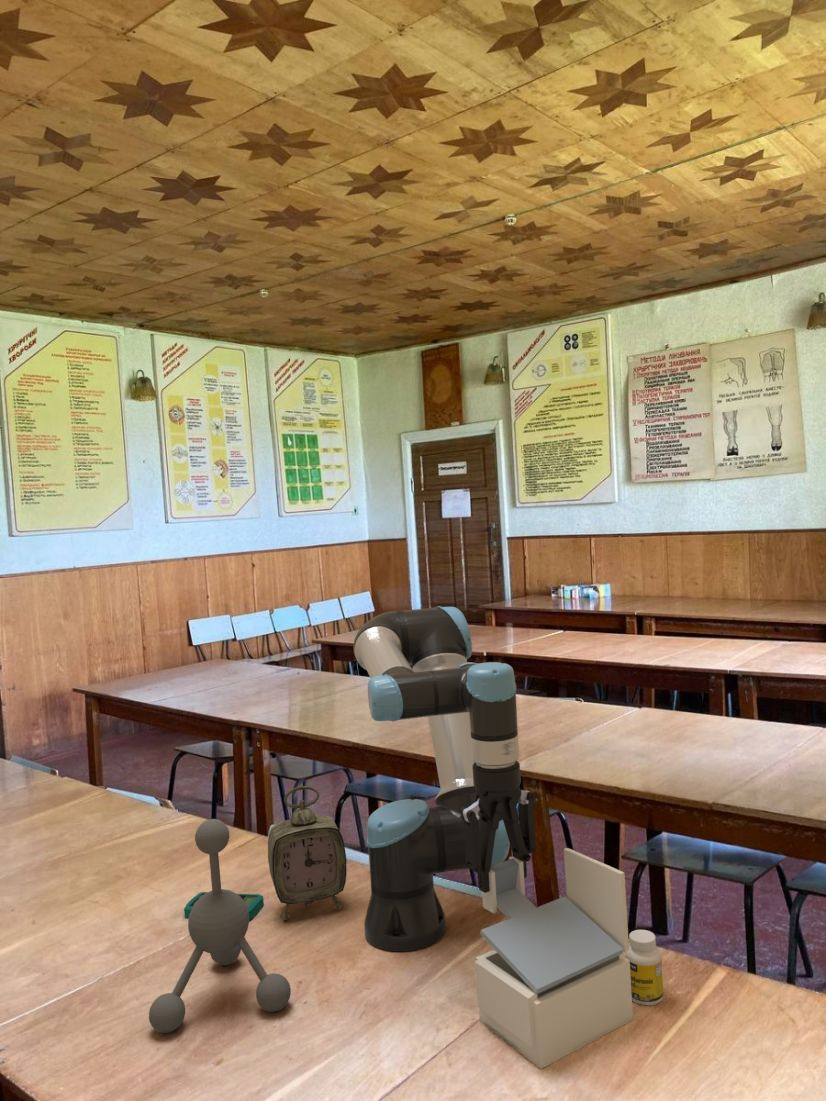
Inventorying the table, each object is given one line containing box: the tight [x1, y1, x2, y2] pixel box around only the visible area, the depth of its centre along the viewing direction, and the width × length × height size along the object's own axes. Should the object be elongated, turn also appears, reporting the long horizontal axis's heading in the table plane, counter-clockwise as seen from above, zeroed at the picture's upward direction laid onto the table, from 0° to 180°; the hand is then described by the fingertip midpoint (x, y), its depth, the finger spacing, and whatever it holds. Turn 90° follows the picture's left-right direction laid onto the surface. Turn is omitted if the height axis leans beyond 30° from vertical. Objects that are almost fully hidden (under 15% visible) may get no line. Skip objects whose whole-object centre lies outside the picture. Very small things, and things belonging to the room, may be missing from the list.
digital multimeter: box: [183, 891, 264, 922], centre depth 173 cm, size 7×15×3 cm, turn 76°
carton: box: [474, 847, 634, 1070], centre depth 129 cm, size 14×20×22 cm
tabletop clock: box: [267, 785, 348, 921], centre depth 171 cm, size 14×9×25 cm, turn 106°
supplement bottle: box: [625, 929, 664, 1006], centre depth 134 cm, size 5×5×10 cm
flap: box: [480, 859, 624, 994], centre depth 131 cm, size 20×17×5 cm
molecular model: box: [148, 818, 292, 1034], centre depth 139 cm, size 24×22×30 cm
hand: (504, 903), depth 138 cm, fingers closed on flap, 5 cm apart
